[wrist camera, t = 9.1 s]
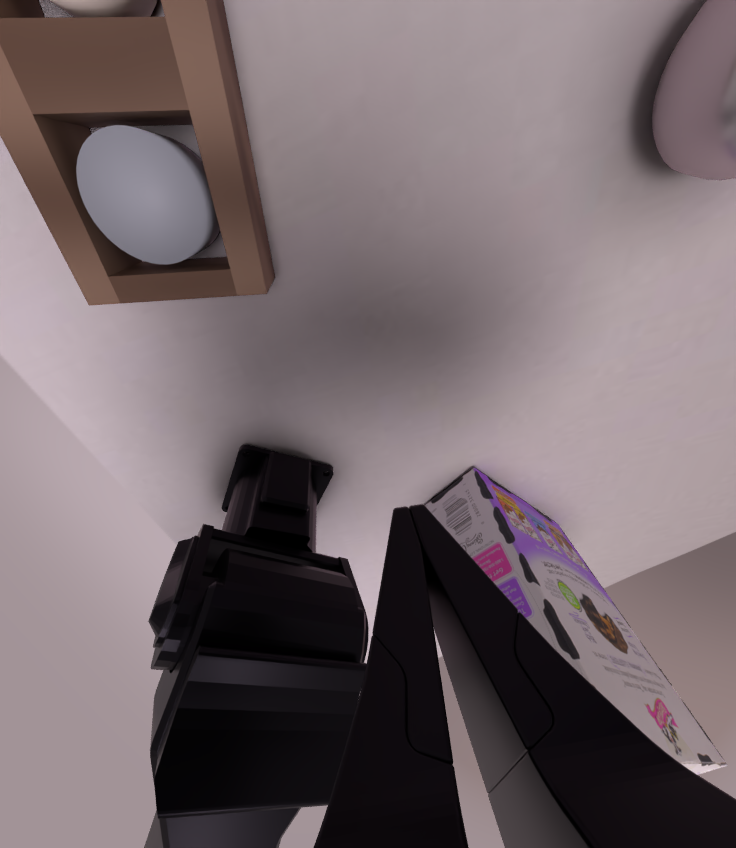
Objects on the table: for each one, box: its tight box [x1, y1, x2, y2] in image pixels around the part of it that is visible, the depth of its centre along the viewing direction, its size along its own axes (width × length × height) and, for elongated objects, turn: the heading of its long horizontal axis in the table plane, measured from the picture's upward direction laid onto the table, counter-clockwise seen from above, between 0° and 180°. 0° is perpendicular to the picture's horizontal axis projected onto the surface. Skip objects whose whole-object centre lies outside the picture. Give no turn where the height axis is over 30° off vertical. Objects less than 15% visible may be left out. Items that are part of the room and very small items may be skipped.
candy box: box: [425, 468, 727, 775], centre depth 23 cm, size 14×6×16 cm, turn 49°
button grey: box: [76, 125, 220, 264], centre depth 13 cm, size 4×4×2 cm
